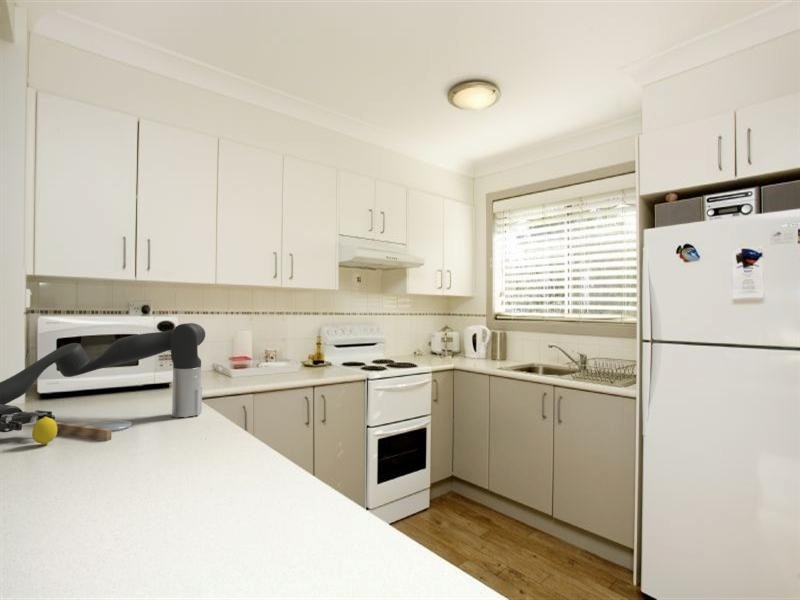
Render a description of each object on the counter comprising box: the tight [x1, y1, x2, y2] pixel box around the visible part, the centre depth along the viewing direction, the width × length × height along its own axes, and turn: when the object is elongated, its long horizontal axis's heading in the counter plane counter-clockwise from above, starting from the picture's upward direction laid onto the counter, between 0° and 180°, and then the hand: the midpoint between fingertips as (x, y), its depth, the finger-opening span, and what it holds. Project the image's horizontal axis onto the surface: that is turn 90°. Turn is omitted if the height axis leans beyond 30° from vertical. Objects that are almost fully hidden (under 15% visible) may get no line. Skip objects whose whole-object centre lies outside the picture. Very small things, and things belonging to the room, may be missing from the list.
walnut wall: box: [55, 421, 113, 442], centre depth 134 cm, size 24×2×3 cm, turn 71°
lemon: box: [31, 417, 58, 446], centre depth 125 cm, size 6×6×8 cm
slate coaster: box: [89, 420, 132, 433], centre depth 143 cm, size 12×12×1 cm
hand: (37, 422), depth 126 cm, fingers open, 8 cm apart
